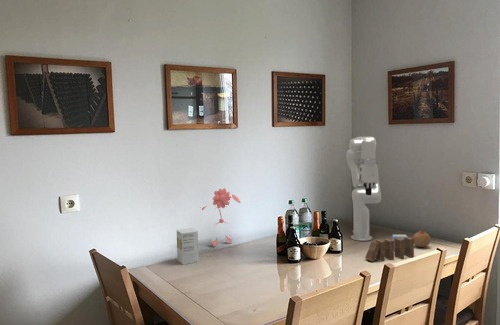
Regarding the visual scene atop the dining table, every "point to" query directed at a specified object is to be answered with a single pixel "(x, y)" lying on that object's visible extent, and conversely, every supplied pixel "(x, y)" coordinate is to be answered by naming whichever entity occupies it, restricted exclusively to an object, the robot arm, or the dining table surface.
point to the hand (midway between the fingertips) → (368, 194)
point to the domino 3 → (389, 249)
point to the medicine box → (398, 236)
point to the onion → (421, 239)
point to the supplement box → (187, 246)
